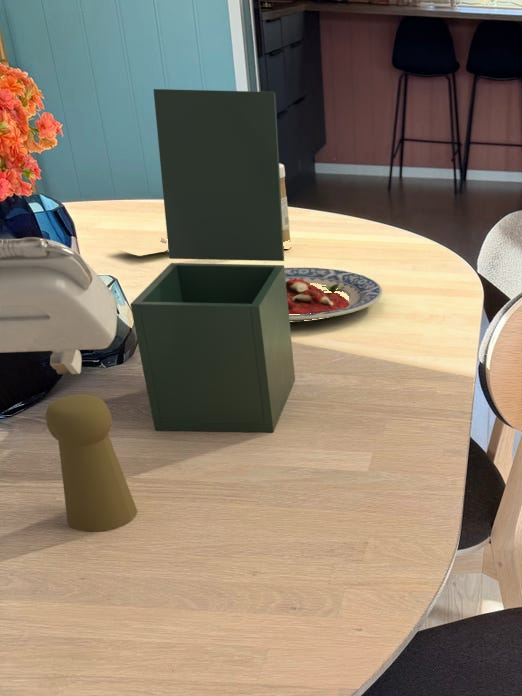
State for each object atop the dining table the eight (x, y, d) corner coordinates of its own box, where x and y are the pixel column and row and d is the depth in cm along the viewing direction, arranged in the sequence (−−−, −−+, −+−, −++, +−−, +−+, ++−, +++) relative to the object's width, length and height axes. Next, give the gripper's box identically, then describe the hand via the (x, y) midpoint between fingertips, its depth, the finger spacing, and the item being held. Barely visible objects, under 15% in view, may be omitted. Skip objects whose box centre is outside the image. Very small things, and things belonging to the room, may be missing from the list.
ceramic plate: (226, 342, 124) (223, 320, 122) (191, 290, 143) (188, 270, 141) (407, 322, 133) (407, 300, 131) (352, 275, 151) (351, 256, 150)
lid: (274, 91, 99) (275, 93, 100) (153, 88, 99) (155, 90, 99) (283, 260, 105) (284, 261, 106) (169, 258, 105) (171, 258, 105)
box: (273, 432, 101) (259, 306, 93) (154, 430, 100) (130, 304, 92) (295, 379, 113) (284, 265, 106) (189, 377, 113) (170, 262, 105)
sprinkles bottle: (274, 244, 167) (266, 161, 159) (296, 246, 166) (289, 163, 158) (260, 249, 164) (251, 165, 156) (283, 252, 163) (275, 167, 155)
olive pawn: (53, 518, 84) (20, 402, 78) (109, 493, 88) (82, 381, 82) (95, 538, 81) (65, 419, 75) (151, 512, 86) (127, 397, 79)
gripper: (71, 193, 55) (151, 324, 68) (-278, 204, 55) (-129, 333, 68) (65, 288, 53) (148, 402, 67) (-294, 300, 53) (-139, 412, 67)
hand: (6, 367), depth 67 cm, fingers open, 8 cm apart
